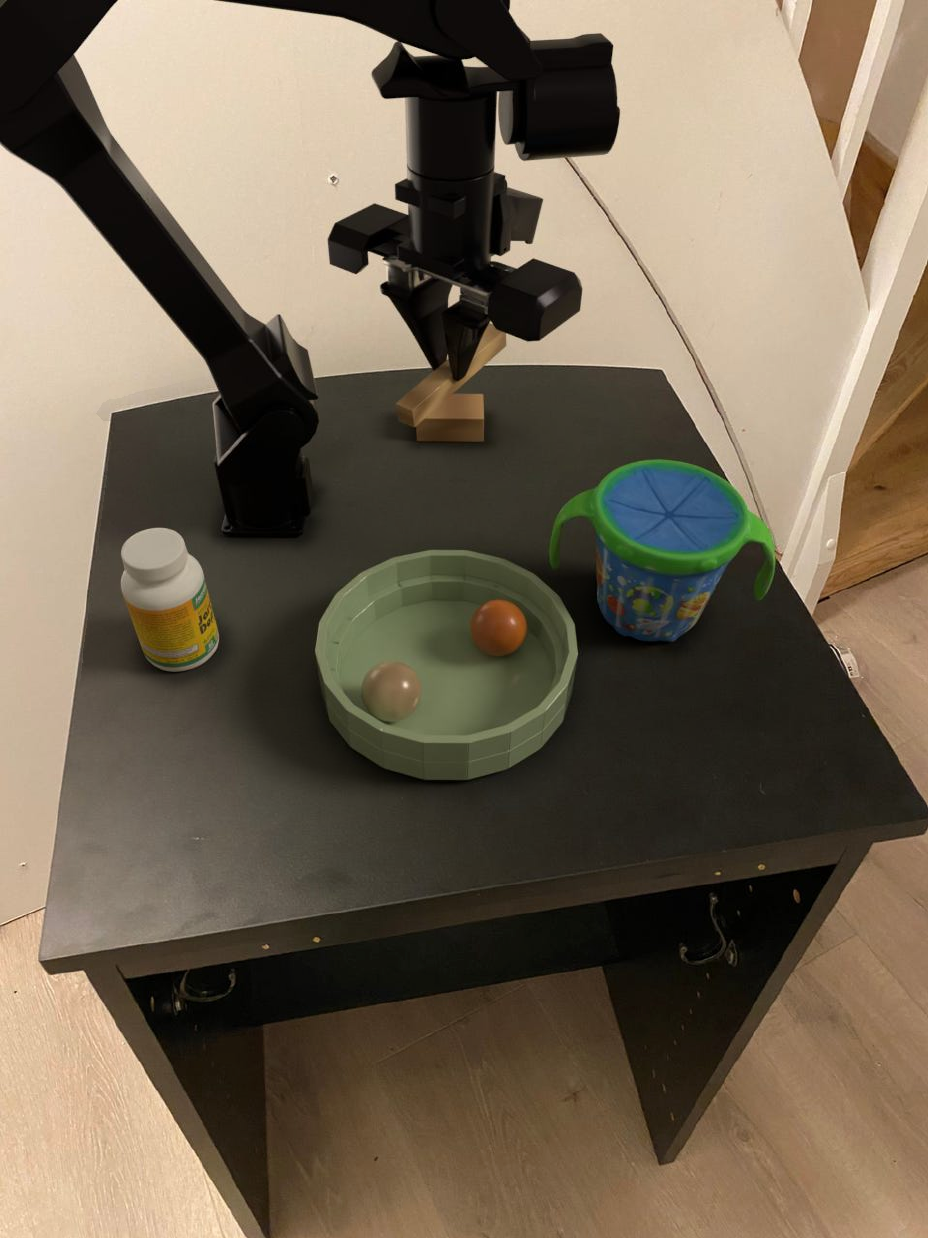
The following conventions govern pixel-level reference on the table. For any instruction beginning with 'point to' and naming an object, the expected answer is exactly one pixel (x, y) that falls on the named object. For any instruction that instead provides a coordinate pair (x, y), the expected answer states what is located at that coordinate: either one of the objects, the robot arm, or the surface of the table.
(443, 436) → the block
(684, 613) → the snack cup
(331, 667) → the bowl
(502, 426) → the table surface
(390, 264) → the robot arm
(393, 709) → the ball taupe
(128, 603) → the supplement bottle
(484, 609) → the ball tangerine
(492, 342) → the wooden bar
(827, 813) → the table surface
